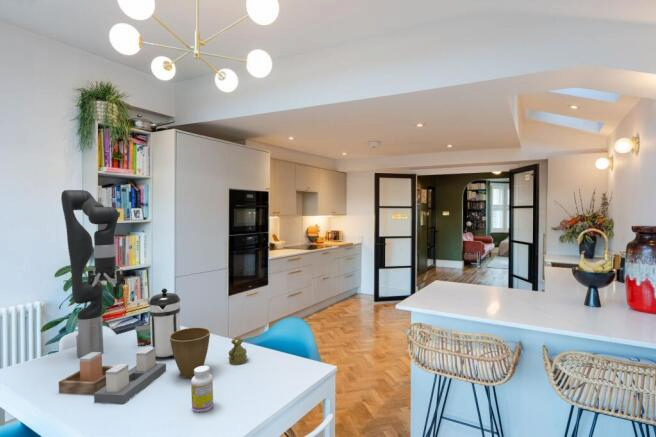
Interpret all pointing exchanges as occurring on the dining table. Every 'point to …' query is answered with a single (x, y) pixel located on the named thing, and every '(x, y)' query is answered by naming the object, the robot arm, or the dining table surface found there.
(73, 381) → the tray
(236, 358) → the olive green lumpy piece
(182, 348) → the plant pot
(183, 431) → the dining table surface
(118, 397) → the frame
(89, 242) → the robot arm
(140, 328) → the food container
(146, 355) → the block
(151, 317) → the coffee press
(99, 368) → the block
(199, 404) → the supplement bottle
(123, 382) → the block
